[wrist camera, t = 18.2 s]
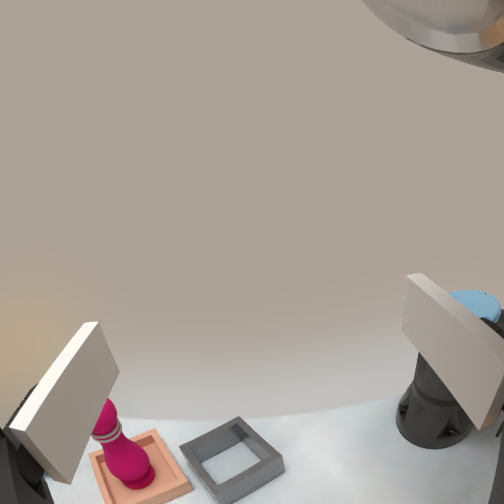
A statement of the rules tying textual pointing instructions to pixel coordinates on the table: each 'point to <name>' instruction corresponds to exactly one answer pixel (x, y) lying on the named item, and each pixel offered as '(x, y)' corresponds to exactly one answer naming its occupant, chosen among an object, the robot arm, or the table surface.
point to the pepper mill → (122, 451)
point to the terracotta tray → (162, 487)
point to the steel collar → (223, 440)
